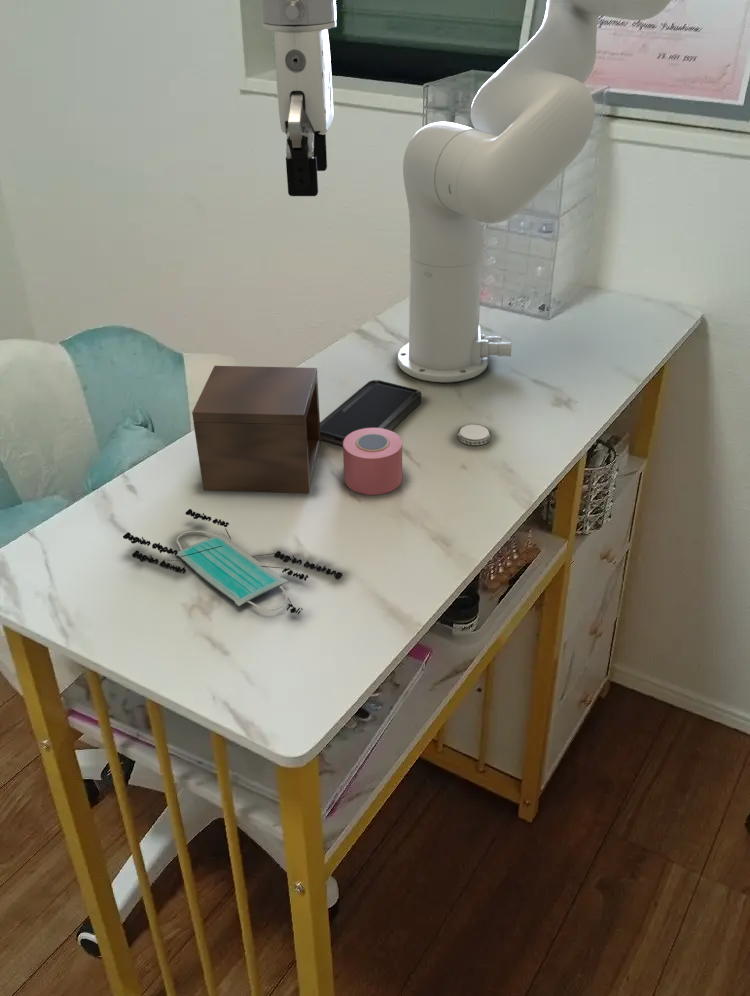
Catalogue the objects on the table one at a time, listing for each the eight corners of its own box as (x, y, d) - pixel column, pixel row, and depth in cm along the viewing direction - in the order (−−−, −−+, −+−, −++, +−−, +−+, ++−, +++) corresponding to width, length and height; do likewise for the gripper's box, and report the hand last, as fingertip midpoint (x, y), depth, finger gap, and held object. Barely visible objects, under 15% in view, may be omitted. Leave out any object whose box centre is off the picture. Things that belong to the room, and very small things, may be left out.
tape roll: (403, 463, 106) (403, 427, 103) (400, 496, 100) (401, 458, 97) (347, 462, 106) (346, 425, 103) (341, 494, 101) (339, 456, 98)
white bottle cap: (452, 440, 109) (452, 436, 109) (464, 425, 112) (464, 421, 112) (483, 447, 108) (484, 443, 108) (495, 432, 111) (495, 427, 111)
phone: (424, 391, 117) (367, 444, 107) (424, 399, 118) (367, 452, 107) (371, 378, 121) (311, 428, 110) (371, 385, 121) (311, 436, 111)
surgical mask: (110, 535, 88) (173, 482, 95) (118, 569, 90) (179, 515, 98) (291, 597, 80) (345, 534, 87) (295, 632, 83) (347, 568, 90)
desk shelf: (321, 441, 110) (317, 367, 104) (309, 493, 101) (304, 415, 95) (223, 439, 111) (214, 365, 105) (203, 490, 102) (191, 412, 96)
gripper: (327, 22, 85) (334, 206, 95) (342, -1, 99) (347, 161, 109) (247, 23, 85) (263, 206, 95) (274, 0, 99) (285, 161, 109)
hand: (308, 182), depth 102 cm, fingers open, 9 cm apart
